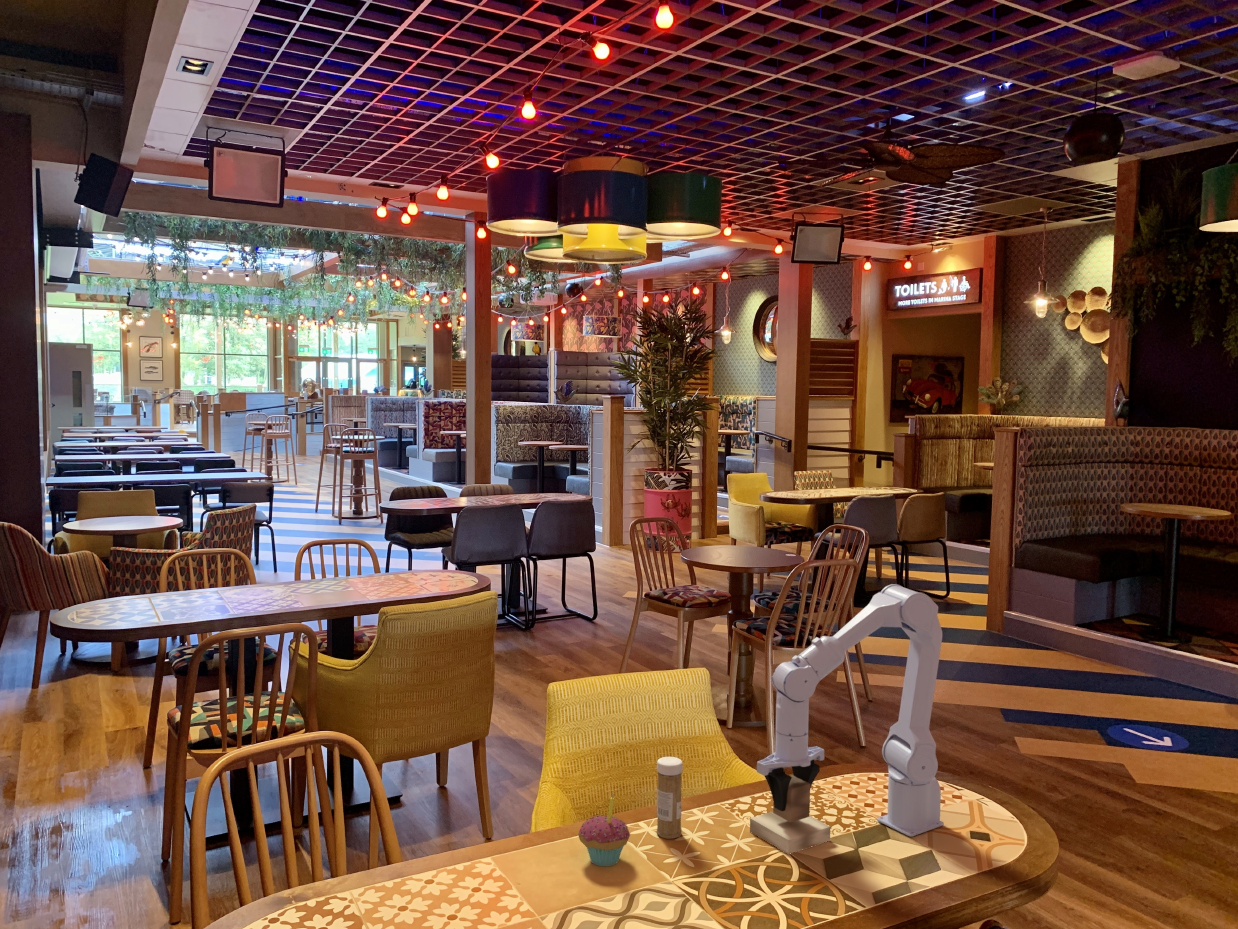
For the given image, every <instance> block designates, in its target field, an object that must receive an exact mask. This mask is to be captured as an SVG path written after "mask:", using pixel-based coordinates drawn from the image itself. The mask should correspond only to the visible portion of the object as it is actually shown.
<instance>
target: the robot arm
mask: <svg viewBox="0 0 1238 929" xmlns="http://www.w3.org/2000/svg"><path fill="white" fill-rule="evenodd" d="M938 614H939V605H938V604H936V602H934V601H933V599H932V598H931V597H930V596H929V595H927V594H925V593H924V592H918V591H915V590H912V589H909V588H906V587H903V586H902V585H900V584H897V583H895V584H893V583H891V584H889V585H886V586H885V587H883V588H882V590H881V591H878V592H877V593H875V594H874V595H872V598H871V599H870V601H869V603H868V604H867V605H866V606H865V607H864V608H862V609H861V610H860V611H859V612H857V614H856V615H855V616H854V617H853V618H852V619H850V620H849V621H848V622H847V623H846V624H845V625H844V626H843V627H841V628H840V630H838V631H837V632H836V633H835V634H833V636H827V635H823V636H820V638H819V637H817V636H815V638H813V639H812V640H811V643H812V644H810V645H809V646H808V647H806V648H805V649H804V650H803V651H802V652H800V653H799V654H798V655H796V654H794V656H793V657H791V661H783V662H781V663H780V664H779V665H777V666H776V668H775V669H774V670H775V671H774V672H773V674H772V676H770V680H771V681H770V682H771V685H772V686H773V688H774V689H775V690H776V701H775V702H776V703H775V743H774V749H775V750H774V752H773V753H771V754H770V755H767V757H764V758H763V759H761V760H758V761H756V773H757V774H760V775H762V776H764V778H765V781H766V782H767V785H768V787H769V790H770V793H771V798H772V803H773V802H774V807H775V808H776V809H778V810H780V811H785V808H786V801H787V791H788V786H789V783H790V781H791V778H792V777H791V775H789V774H787V773H786V771H785V770H784V769H788V768H791V770H792V775H793V776H795V777H798V778H800V779H802V780H804V781H806V782H808V783H810V789H811V788H812V786H813V783H814V781H815V779H816V777H817V776H818V774H819V773H820V771H821V767H820V765H819V764H817V763H815V761H817V760H818V761H821V762H822V761H824V760H825V749H824V748H822V747H819V746H817V745H816V746H809V712H810V707H809V706H810V704H809V703H810V698H811V697H812V696H813V695H814V693H815V691H816V688H817V685H818V684H819V683H820V682H821V680H823V679H824V678H826V676H828V675H829V674H830V673H832V672H833V671H834V670H836V669H837V668H838V667H839V666H840V665H842V664H843V663H844V662H845V657H846V652H848V651H849V650H850V649H852V648H853V647H854V646H856V645H857V644H858V643H860V642H861V641H863V640H864V639H866V638H867V637H869V636H870V635H871V634H873V633H874V632H876V631H877V630H878V629H881V628H901V629H902V631H904V633H905V634H906V636H908V638H909V645H908V646H909V647H908V651H907V658H906V666H905V673H904V680H903V684H902V685H903V686H902V692H901V699H900V700H901V701H900V707H899V714H898V721H896V722H895V723H894V724H893V725H891V726H890V727H889V732H888V735H887V738H886V739H885V741H884V743H883V745H882V748H881V754H882V755H881V756H882V758H883V760H884V761H885V762H886V763H887V771H888V789H887V791H888V793H887V814H885V815H881V816H879V817H877V818H876V821H877V822H879V823H881V824H883V825H885V826H887V827H890V828H891V829H893V830H895V831H897V832H899V833H902V834H904V835H906V836H908V837H915V836H917V835H920V834H924V833H925V832H928V831H931V830H934V829H937V828H940V827H943V826H944V824H945V823H944V821H942V820H941V796H942V792H941V786H940V783H939V781H938V780H937V778H936V777H935V776H936V775H937V772H938V770H939V769H938V767H939V762H938V758H937V755H936V754H937V753H936V751H937V743H936V741H935V739H934V737H933V735H932V732H931V730H930V725H931V724H930V722H931V716H932V711H933V702H934V697H935V690H936V682H937V676H938V670H939V663H940V655H941V648H942V642H943V630H942V626H941V624H940V620H939V616H938Z"/></svg>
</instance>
